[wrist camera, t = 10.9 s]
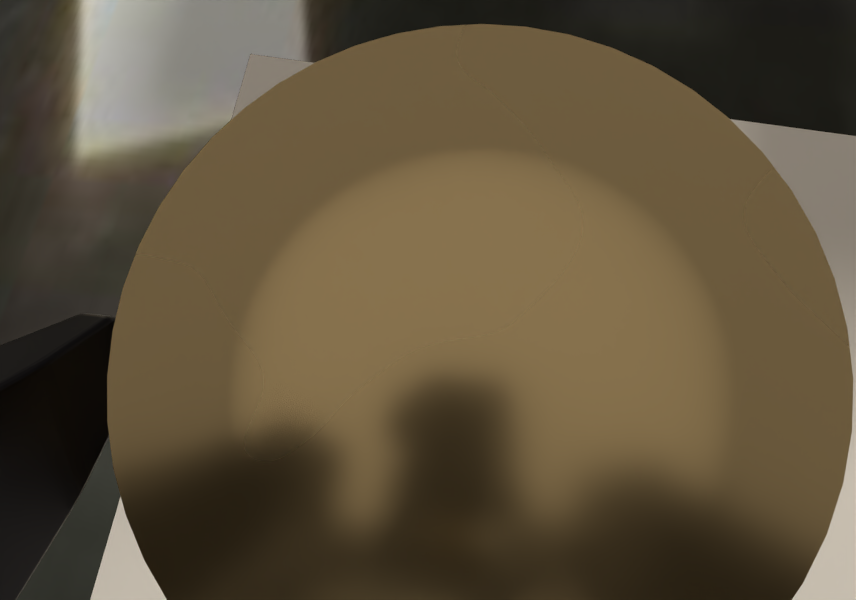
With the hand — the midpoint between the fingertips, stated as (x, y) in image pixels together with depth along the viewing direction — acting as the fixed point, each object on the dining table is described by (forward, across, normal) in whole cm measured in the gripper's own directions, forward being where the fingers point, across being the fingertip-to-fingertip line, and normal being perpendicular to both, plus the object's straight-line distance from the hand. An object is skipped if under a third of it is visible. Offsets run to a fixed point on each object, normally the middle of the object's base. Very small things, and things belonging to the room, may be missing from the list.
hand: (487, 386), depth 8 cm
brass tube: (+6, 0, +6) cm, 9 cm away
